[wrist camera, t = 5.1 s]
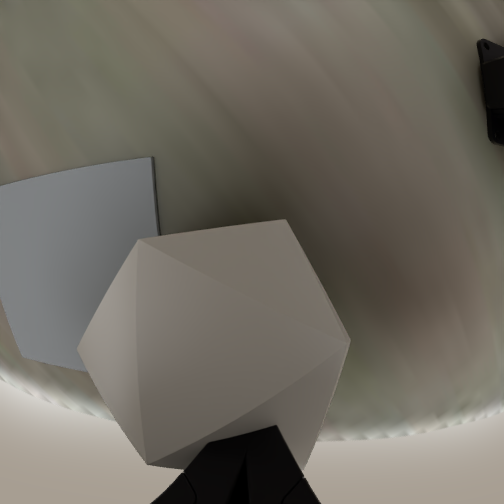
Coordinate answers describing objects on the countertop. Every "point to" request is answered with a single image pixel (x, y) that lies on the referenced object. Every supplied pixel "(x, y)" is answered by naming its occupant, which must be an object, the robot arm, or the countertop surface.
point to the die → (216, 342)
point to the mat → (69, 250)
